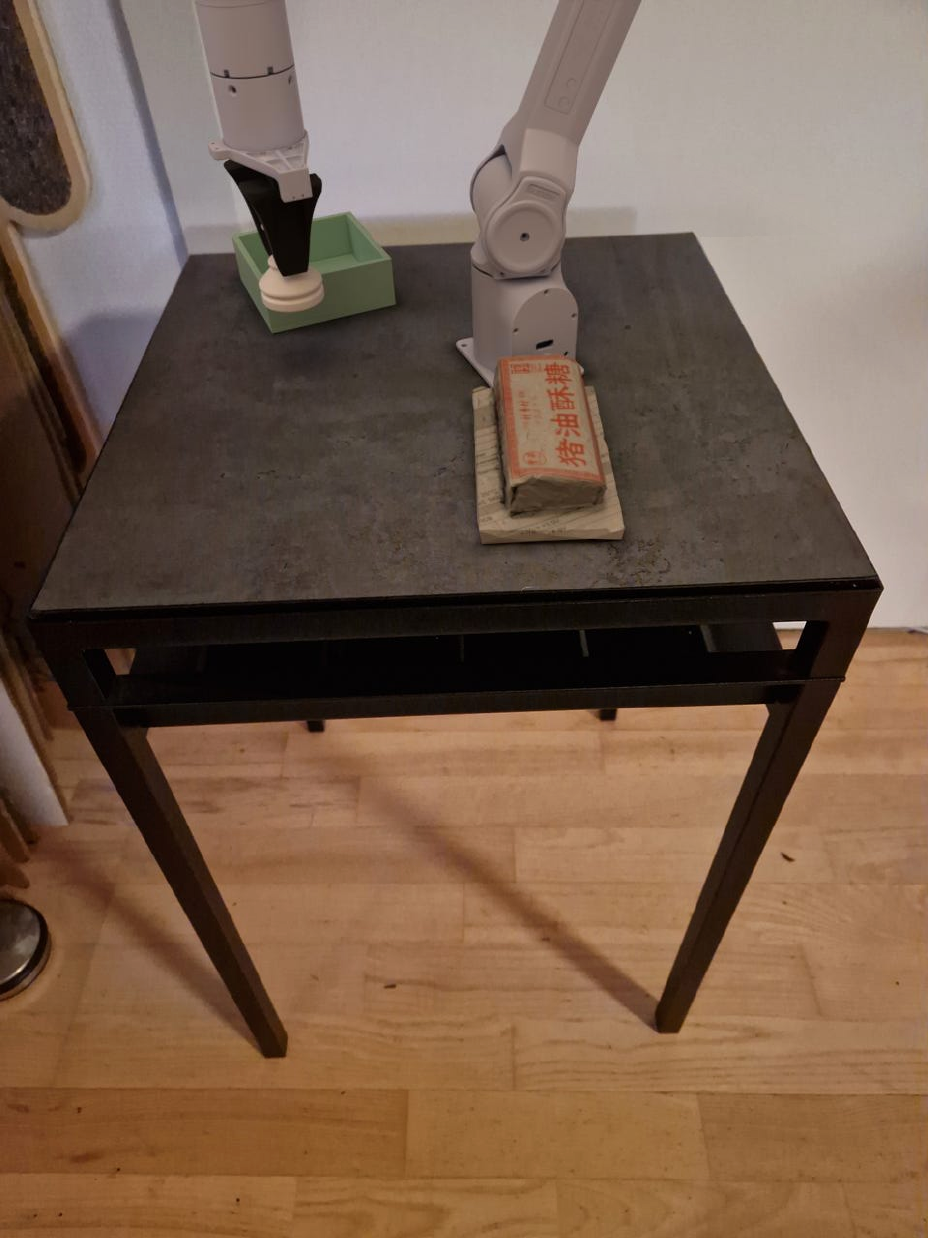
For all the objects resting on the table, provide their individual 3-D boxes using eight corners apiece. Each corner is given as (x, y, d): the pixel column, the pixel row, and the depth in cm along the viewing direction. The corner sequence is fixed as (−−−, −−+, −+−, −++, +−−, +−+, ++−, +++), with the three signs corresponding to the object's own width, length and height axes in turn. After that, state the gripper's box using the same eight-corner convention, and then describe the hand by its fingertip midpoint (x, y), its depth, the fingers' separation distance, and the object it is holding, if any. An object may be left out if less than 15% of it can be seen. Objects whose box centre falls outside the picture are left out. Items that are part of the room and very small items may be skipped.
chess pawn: (254, 312, 71) (228, 195, 64) (273, 283, 74) (250, 168, 68) (315, 315, 70) (295, 196, 64) (331, 285, 73) (314, 170, 67)
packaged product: (470, 349, 70) (597, 344, 70) (471, 402, 73) (592, 398, 73) (476, 492, 57) (632, 486, 57) (478, 549, 61) (624, 543, 61)
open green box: (395, 304, 85) (391, 258, 82) (272, 333, 82) (262, 286, 79) (355, 254, 93) (349, 210, 90) (240, 279, 90) (230, 234, 87)
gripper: (171, 49, 64) (216, 238, 74) (218, 106, 55) (262, 314, 64) (267, 34, 66) (298, 221, 75) (328, 87, 56) (355, 293, 66)
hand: (287, 263), depth 70 cm, fingers closed on chess pawn, 3 cm apart
